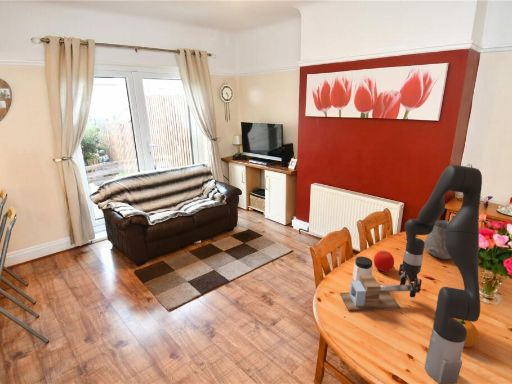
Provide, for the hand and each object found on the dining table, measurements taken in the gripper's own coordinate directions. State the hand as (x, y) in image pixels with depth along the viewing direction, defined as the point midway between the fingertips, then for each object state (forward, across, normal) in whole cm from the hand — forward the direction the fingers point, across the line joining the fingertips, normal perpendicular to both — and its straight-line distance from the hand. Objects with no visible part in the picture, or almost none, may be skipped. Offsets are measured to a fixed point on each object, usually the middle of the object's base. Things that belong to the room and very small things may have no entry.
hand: (407, 291), depth 138 cm
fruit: (+6, -24, -8) cm, 26 cm away
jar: (+5, +17, +14) cm, 23 cm away
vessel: (+5, +41, -44) cm, 60 cm away
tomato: (+5, +27, -2) cm, 28 cm away
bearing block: (+5, 0, +18) cm, 19 cm away
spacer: (+4, 0, +24) cm, 24 cm away
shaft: (+1, 0, +8) cm, 8 cm away
